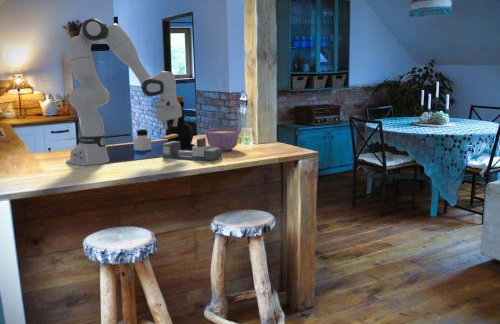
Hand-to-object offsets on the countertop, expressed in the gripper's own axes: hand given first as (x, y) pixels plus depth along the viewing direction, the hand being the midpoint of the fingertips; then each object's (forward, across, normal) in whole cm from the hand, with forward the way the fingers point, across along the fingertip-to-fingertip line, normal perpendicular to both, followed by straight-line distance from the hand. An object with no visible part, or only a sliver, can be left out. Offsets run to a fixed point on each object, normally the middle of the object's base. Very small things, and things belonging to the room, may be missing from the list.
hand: (170, 127), depth 265 cm
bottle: (+16, -31, -14) cm, 37 cm away
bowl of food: (+16, -25, +18) cm, 35 cm away
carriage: (+14, 0, +18) cm, 23 cm away
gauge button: (+6, 0, 0) cm, 6 cm away
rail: (+16, 0, +12) cm, 20 cm away
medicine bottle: (+15, -12, -28) cm, 34 cm away
